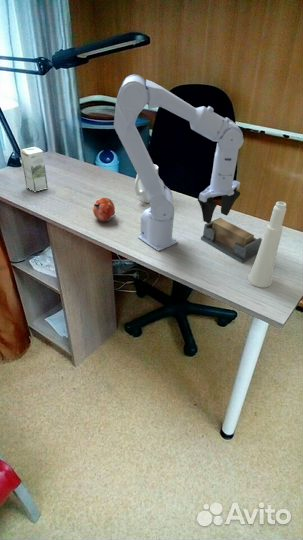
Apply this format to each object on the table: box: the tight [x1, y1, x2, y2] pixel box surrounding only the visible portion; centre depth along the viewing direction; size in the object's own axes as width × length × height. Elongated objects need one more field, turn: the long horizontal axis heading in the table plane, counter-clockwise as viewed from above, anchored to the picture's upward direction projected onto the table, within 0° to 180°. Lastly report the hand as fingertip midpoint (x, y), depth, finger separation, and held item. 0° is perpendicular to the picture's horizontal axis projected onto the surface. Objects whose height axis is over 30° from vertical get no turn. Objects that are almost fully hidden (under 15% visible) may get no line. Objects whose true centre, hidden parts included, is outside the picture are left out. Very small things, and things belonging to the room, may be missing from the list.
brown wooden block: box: [212, 218, 255, 249], centre depth 102 cm, size 12×4×5 cm, turn 41°
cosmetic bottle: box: [247, 201, 287, 289], centre depth 85 cm, size 6×6×22 cm
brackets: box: [200, 217, 262, 264], centre depth 103 cm, size 16×8×5 cm, turn 40°
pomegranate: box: [92, 197, 116, 223], centre depth 113 cm, size 7×7×10 cm
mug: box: [134, 163, 159, 204], centre depth 123 cm, size 10×7×12 cm, turn 139°
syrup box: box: [19, 146, 49, 192], centre depth 127 cm, size 6×6×14 cm
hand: (215, 217), depth 101 cm, fingers open, 7 cm apart
